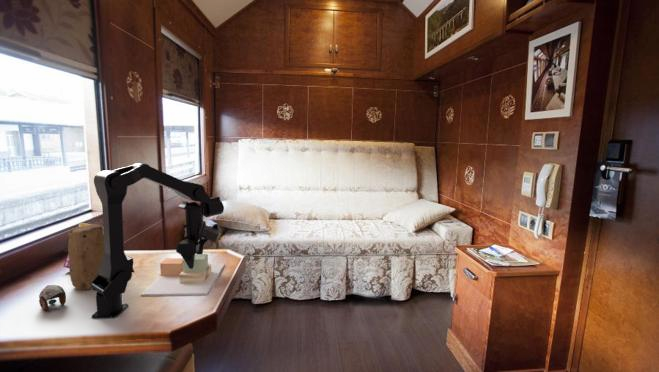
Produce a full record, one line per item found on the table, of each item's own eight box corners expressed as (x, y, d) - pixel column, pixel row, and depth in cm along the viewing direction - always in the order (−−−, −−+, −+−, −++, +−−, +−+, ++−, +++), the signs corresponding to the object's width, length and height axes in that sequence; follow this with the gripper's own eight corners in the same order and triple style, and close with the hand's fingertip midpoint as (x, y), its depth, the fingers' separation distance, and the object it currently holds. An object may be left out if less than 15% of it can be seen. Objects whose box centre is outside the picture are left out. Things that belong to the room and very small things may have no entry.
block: (82, 293, 100) (76, 231, 97) (68, 288, 104) (62, 228, 101) (117, 280, 110) (113, 223, 107) (104, 275, 113) (99, 220, 110)
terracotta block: (181, 275, 114) (180, 263, 113) (160, 275, 113) (160, 263, 112) (186, 269, 119) (185, 258, 118) (166, 270, 118) (166, 258, 117)
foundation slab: (204, 282, 109) (203, 274, 108) (179, 283, 108) (179, 274, 108) (211, 271, 118) (211, 263, 117) (188, 272, 117) (188, 264, 116)
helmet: (61, 305, 96) (53, 283, 96) (75, 300, 92) (67, 277, 92) (37, 315, 90) (29, 292, 90) (51, 310, 87) (42, 286, 87)
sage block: (204, 271, 110) (203, 259, 110) (182, 272, 109) (182, 259, 109) (208, 266, 115) (207, 254, 114) (187, 266, 114) (187, 254, 114)
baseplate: (207, 294, 102) (207, 293, 102) (140, 296, 100) (140, 294, 100) (224, 265, 125) (224, 263, 125) (171, 265, 123) (171, 264, 123)
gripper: (211, 227, 101) (212, 274, 104) (224, 213, 120) (225, 253, 122) (174, 227, 100) (176, 274, 103) (193, 213, 119) (195, 253, 121)
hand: (195, 263), depth 112 cm, fingers open, 9 cm apart
